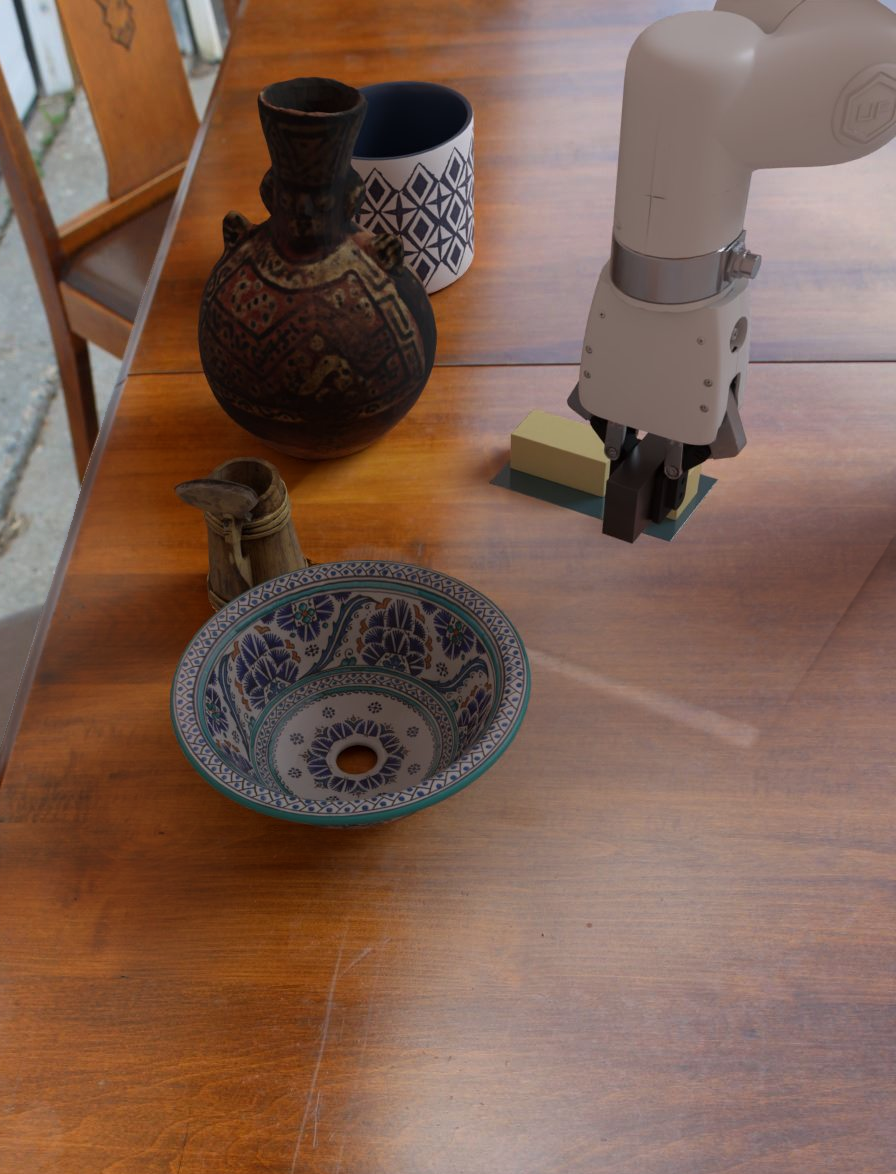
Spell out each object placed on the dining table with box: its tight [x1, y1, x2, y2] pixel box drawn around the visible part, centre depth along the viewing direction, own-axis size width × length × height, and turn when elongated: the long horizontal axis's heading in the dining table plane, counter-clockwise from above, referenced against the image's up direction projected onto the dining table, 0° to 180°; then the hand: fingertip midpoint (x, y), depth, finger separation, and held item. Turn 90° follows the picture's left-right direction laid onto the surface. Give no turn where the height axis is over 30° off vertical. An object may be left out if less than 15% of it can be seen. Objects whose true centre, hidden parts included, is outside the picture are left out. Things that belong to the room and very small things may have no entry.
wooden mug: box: [173, 456, 309, 611], centre depth 104 cm, size 9×14×18 cm, turn 169°
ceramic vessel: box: [197, 76, 438, 461], centre depth 111 cm, size 21×18×30 cm
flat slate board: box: [489, 459, 719, 543], centre depth 114 cm, size 17×9×1 cm, turn 55°
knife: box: [601, 382, 736, 544], centre depth 95 cm, size 18×2×4 cm, turn 144°
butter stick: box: [509, 408, 610, 497], centre depth 114 cm, size 9×4×4 cm, turn 55°
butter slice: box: [666, 463, 703, 520], centre depth 110 cm, size 2×4×4 cm, turn 145°
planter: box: [351, 80, 475, 295], centre depth 134 cm, size 16×16×14 cm
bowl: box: [169, 559, 532, 830], centre depth 95 cm, size 25×25×10 cm
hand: (644, 503), depth 95 cm, fingers closed on knife, 2 cm apart
